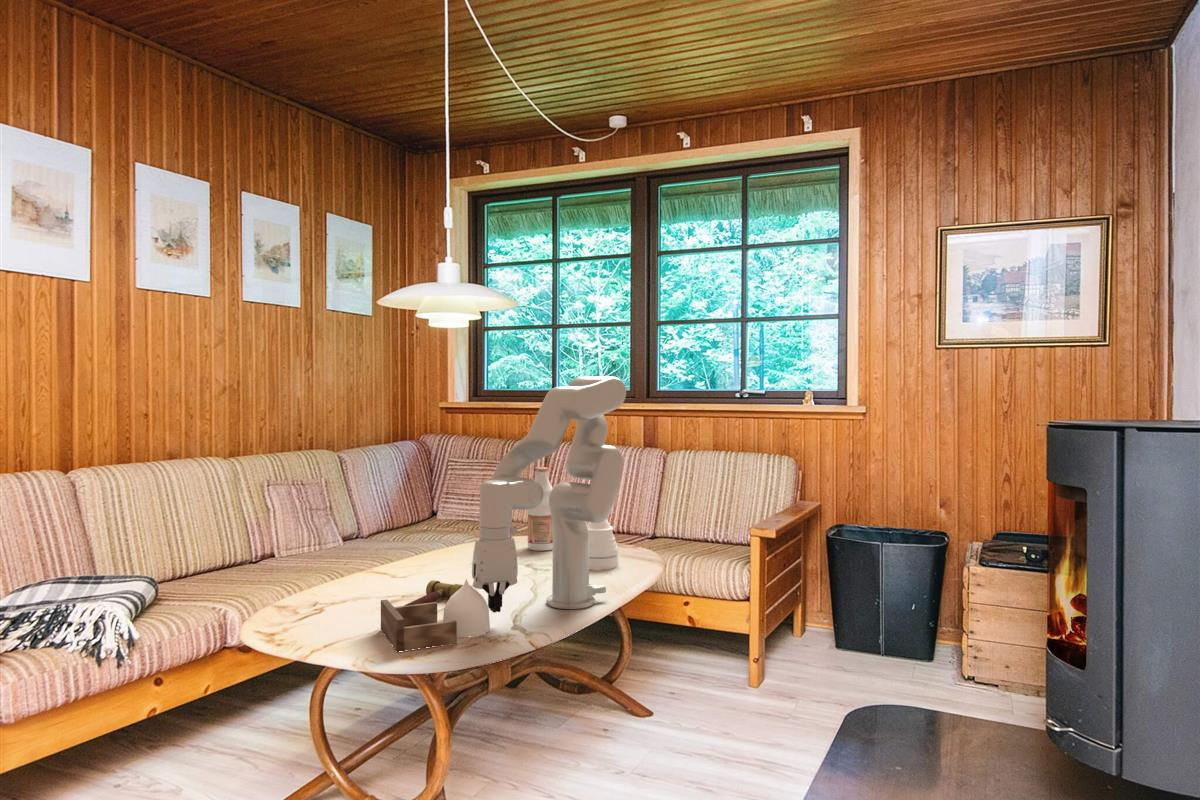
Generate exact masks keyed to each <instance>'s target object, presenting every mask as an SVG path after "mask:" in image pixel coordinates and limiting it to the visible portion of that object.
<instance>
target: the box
mask: <svg viewBox="0 0 1200 800" xmlns="http://www.w3.org/2000/svg"><path fill="white" fill-rule="evenodd" d="M381 630H382V631H383V633H384V634H385V635H384V634H383V633H382V634H383V635H384V637H385V636H386V637H387V638H386V637H385V638H386V640H387V639H388V640H389V641H390V642H389V641H388V640H387V641H388V642H389V644H390V643H391V644H392V645H393V647H394V648H395V649H394V648H393V647H392V648H393V649H394V651H395V650H396V651H397V652H399V651H405V650H412V649H418V648H426V647H432V646H440V647H442V646H441V645H447V646H450V645H449V644H454V645H458V644H457V641H458V640H457V638H458V637H457V621H456V620H454V621H446V622H443V621H439V622H438V601H436V602H432V603H424V604H416V605H407V606H404V605H400V606H394V605H393V604H392V603H391V602H390V601H389V600H388V599H381V600H380V631H381ZM382 631H381V632H382ZM391 644H390V645H391ZM392 645H391V646H392ZM396 651H395V652H396ZM397 652H396V653H397ZM399 653H400V652H399Z"/></svg>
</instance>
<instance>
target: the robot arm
mask: <svg viewBox="0 0 1200 800" xmlns="http://www.w3.org/2000/svg"><path fill="white" fill-rule="evenodd" d="M626 398H627V388H626V385H625V383H624V382H623V381H622V380H621V379H620V378H618V377H616V376H611V375H610V376H608V375H606V376H605V375H604V376H602V375H601V376H599V375H598V376H597V375H596V376H595V375H592V376H591V375H590V376H588V375H587V376H579V377H575V378H574V379H572V380H571V381H570V383H569V385H567V386H565V385H564V386H555V387H553V388H551V389H550V390H548V391H547V393H546V394H545V396H544V399H543V401H542V403H541V405H540V407H539V409H538V411H537V413H536V416H535V418H534V420H533V422H532V424H531V426H530V428H529V431H528V433H527V435H526V436H525V437H523V438H522V439H521V440H519V441H518V442H517V443H516V444H515V445H514V446H512V447H511V448H510V450H508V451H507V452H506V453H505V454H504V455H503V457H502V458H501V460H500V461H499V463H497V464H498V465H497V467H496V468H495V471H494V473H493V475H492V478H491V480H486V481H483V482H482V483H481V484H480V486H479V538H476V539H475V542H474V547H473V556H472V564H471V576H472V577H471V578H472V579H473V582H472V588H473V587H474V588H473V589H476V590H478V589H479V590H484V592H485V593H486V594H488V595H487V606H488V609H489V611H491V612H492V613H494V614H495V613H497V612H498V613H501V610H502V609H501V608H502V607H503V595H504V594H505V592H506V590H507V589H508V588H509V587H511V586H513V585H516V584H518V573H519V571H518V566H519V565H518V555H517V546H516V542H515V538H514V537H513V534H515V533H517V532H518V528H517V526H513V523H512V522H513V521H512V520H513V519H512V517H513V515H512V514H513V513H512V511H513V510H522V511H525V510H527V511H528V510H529V509H533V508H535V507H536V506H538V505H539V504H540V503H541V501H542V499H543V488H542V486H541V485H540V484H539V483H538V482H537V481H535V480H534V479H533V478H529V477H528V478H527V477H521V474H522V472H524V470H525V469H526V468H527V467H529V465H531V464H533V463H534V462H536V461H538V460H540V459H543V458H545V457H547V456H550V455H552V454H554V453H555V452H556V451H558V450H559V448H560V446H561V443H562V441H563V439H564V437H565V434H566V432H567V430H568V428H569V425H570V423H571V421H576V428H575V431H574V435H573V437H572V442H571V444H570V448H569V451H568V454H567V458H566V464H565V469H566V472H567V473H568V474H569V476H571V477H572V478H575V479H578V480H579V479H580V480H584V481H585V480H586V481H590V483H584V482H575V481H563V482H559V483H557V484H556V485H554V487H553V489H552V491H551V493H550V496H549V507H550V512H551V518H552V527H553V549H552V594H550V595H548V596H547V597H546V601H545V602H546V605H548V606H550V607H552V608H555V609H560V610H561V609H562V610H579V609H585V608H590V607H591V606H593V605H595V603H596V602H595V600H596V599H595V597H594V596H595V595H596V594H605V593H606V592H607V588H606V586H605V585H598V586H597V584H594V585H592V584H590V569H589V532H588V528H587V523H588V522H593V523H599V522H603V521H604V520H606V519H607V520H608V518H609V516H610V514H611V513H612V511H613V507H614V504H615V502H616V499H617V494H618V491H619V488H620V484H621V481H622V480H621V479H622V476H623V473H624V459H623V455H622V453H621V451H620V450H619V449H618V447H616V446H614V445H609V444H606V440H607V436H608V432H609V431H608V430H609V427H608V426H609V425H608V421H607V419H606V417H605V415H606V414H608V413H611V412H613V411H615V410H616V409H618V408H620V407H621V406H622V405H623V403H624V402H625V400H626ZM494 583H496V584H494ZM494 585H495V586H494Z"/></svg>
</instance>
